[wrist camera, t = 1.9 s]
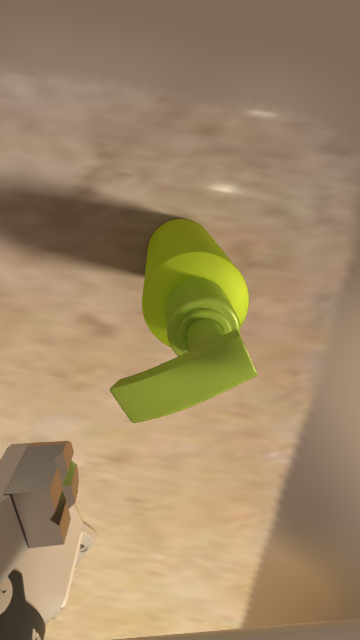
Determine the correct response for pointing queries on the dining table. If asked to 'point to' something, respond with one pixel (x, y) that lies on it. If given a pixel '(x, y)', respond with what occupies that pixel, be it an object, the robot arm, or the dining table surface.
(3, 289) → the dining table surface
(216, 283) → the soap dispenser
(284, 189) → the dining table surface
